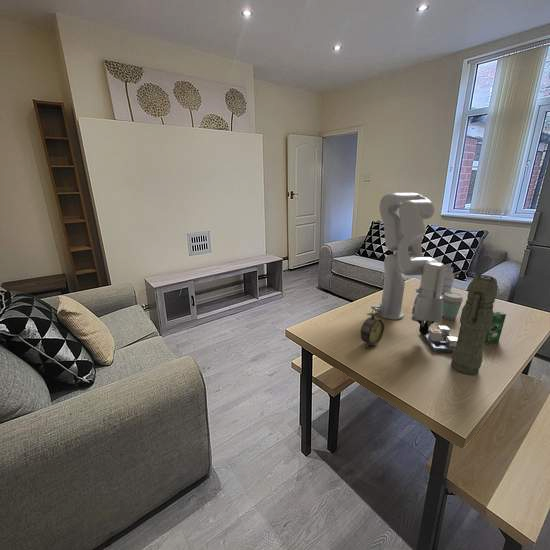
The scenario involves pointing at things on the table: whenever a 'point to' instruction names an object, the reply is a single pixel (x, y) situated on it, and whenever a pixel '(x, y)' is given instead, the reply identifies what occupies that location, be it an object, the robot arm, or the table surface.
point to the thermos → (474, 325)
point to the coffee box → (495, 328)
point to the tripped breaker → (435, 334)
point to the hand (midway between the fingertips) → (423, 333)
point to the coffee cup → (451, 305)
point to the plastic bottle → (447, 281)
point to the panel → (442, 341)
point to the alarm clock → (372, 330)
